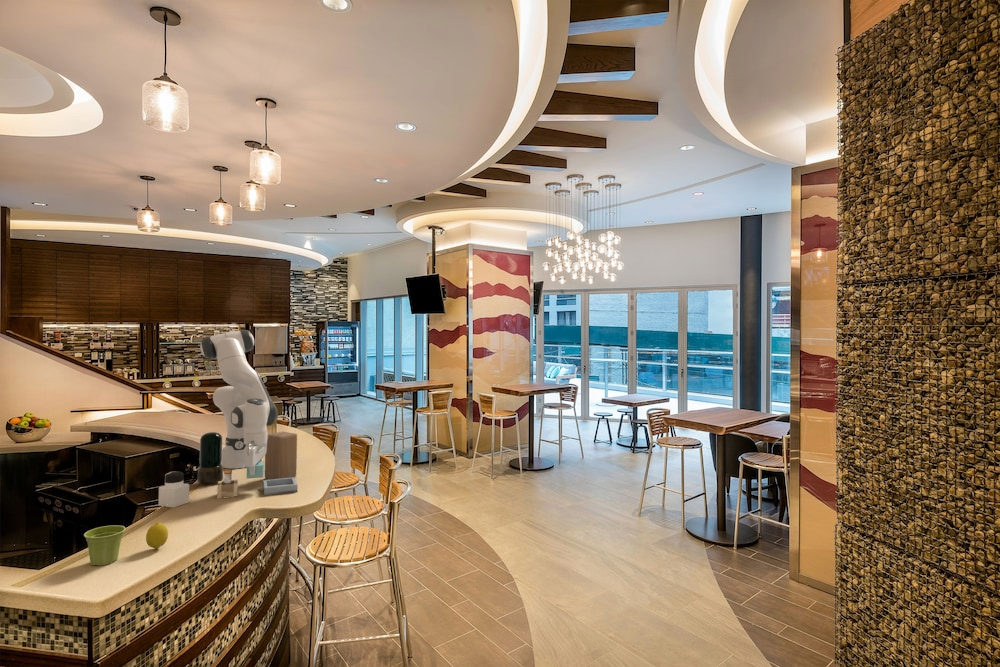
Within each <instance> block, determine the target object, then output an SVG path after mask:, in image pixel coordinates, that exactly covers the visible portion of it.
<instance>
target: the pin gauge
mask: <svg viewBox="0 0 1000 667" xmlns="http://www.w3.org/2000/svg"><path fill="white" fill-rule="evenodd" d="M232 470H233V469H225V470H224V469H223V481H224V485H226V484H231V480H233V479H232V474H233V473H232V472H233V471H232Z"/></svg>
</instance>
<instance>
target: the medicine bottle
mask: <svg viewBox="0 0 1000 667" xmlns="http://www.w3.org/2000/svg"><path fill="white" fill-rule="evenodd" d="M184 475H185V473H184V472H182V471H178V470H177V471H169V472H168V473H166V474H165V475H164V485H162V486H159V487H158V506H159V507H164V506H166V505H167V504H168V505H167V506H166V508H176V507H179V506H181V505H184V504H185V505H186V504H187V503H189V502H190V483H184V480H185V479H184V478H185V476H184Z"/></svg>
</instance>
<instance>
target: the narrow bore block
mask: <svg viewBox="0 0 1000 667" xmlns="http://www.w3.org/2000/svg"><path fill="white" fill-rule="evenodd" d="M255 470H256V473H255V475H250V470H249V467H246V480H249V479H260V478H261V479H263V477H264V476H265V461H261V462H258V463H257V464H256V465H255Z"/></svg>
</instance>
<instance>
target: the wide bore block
mask: <svg viewBox="0 0 1000 667" xmlns="http://www.w3.org/2000/svg"><path fill="white" fill-rule="evenodd" d="M232 496H237V497H238V479H231V484H226V485H224V480H222V481H219V482H218V484H217V496H216V497H217V498H221V499H225V498H224V497H230V498H233V497H232ZM217 498H216V499H217Z"/></svg>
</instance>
